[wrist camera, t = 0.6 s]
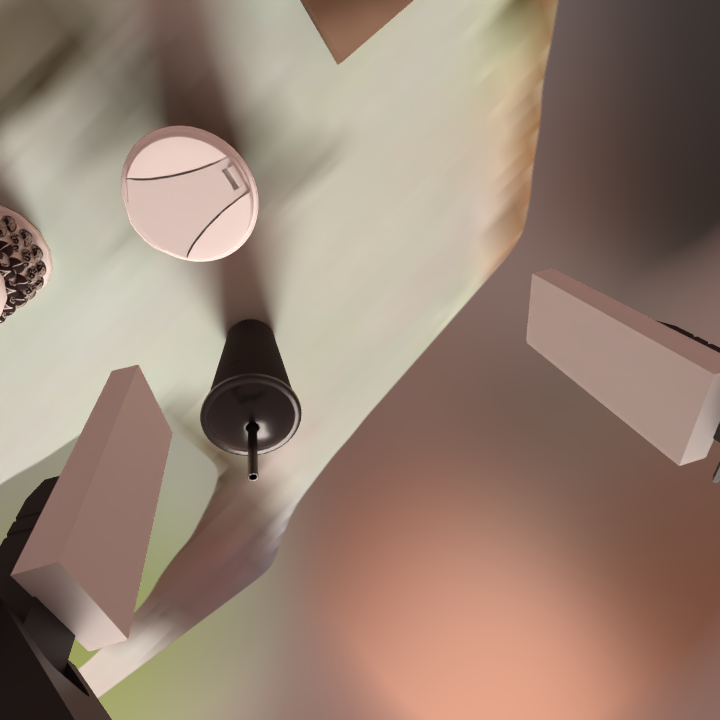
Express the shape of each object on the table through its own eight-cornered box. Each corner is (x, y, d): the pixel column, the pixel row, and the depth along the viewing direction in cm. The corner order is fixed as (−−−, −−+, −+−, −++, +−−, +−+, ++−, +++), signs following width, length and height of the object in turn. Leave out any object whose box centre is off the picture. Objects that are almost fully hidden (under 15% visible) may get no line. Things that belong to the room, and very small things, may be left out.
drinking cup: (249, 384, 47) (249, 534, 30) (196, 338, 43) (162, 480, 26) (302, 343, 46) (334, 473, 29) (253, 292, 42) (257, 408, 25)
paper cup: (221, 105, 34) (206, 97, 22) (272, 195, 38) (283, 229, 26) (138, 153, 34) (79, 171, 22) (197, 237, 38) (174, 290, 26)
